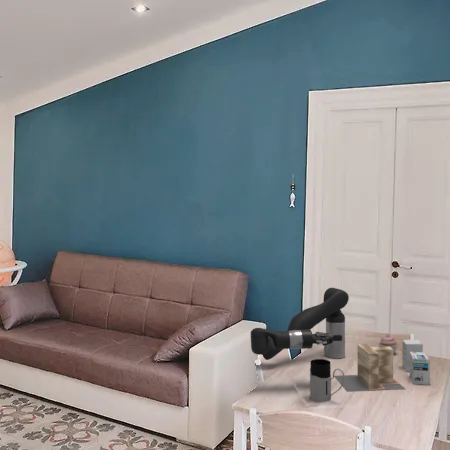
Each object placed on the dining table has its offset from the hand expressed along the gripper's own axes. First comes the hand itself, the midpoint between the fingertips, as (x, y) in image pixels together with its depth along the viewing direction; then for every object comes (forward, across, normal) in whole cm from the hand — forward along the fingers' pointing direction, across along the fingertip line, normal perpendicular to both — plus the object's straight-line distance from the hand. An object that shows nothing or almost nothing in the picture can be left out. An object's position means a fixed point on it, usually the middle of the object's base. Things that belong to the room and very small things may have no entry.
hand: (341, 337), depth 217 cm
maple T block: (+15, -1, -19) cm, 25 cm away
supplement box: (+37, -18, -21) cm, 46 cm away
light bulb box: (+34, -4, -21) cm, 40 cm away
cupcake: (+35, -43, -21) cm, 60 cm away
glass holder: (-10, +16, -20) cm, 28 cm away
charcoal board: (+11, -1, -20) cm, 23 cm away
